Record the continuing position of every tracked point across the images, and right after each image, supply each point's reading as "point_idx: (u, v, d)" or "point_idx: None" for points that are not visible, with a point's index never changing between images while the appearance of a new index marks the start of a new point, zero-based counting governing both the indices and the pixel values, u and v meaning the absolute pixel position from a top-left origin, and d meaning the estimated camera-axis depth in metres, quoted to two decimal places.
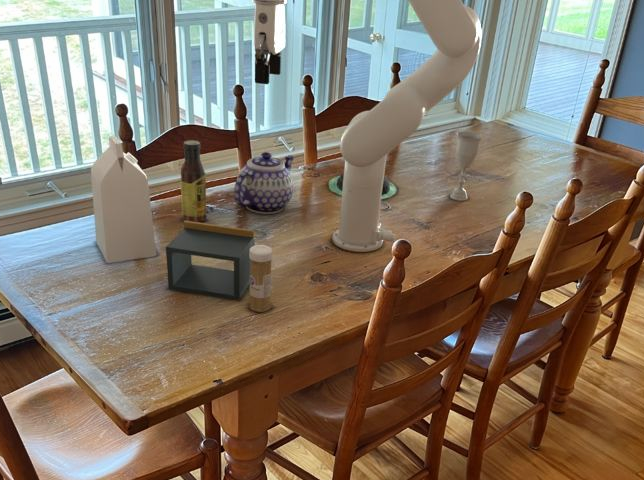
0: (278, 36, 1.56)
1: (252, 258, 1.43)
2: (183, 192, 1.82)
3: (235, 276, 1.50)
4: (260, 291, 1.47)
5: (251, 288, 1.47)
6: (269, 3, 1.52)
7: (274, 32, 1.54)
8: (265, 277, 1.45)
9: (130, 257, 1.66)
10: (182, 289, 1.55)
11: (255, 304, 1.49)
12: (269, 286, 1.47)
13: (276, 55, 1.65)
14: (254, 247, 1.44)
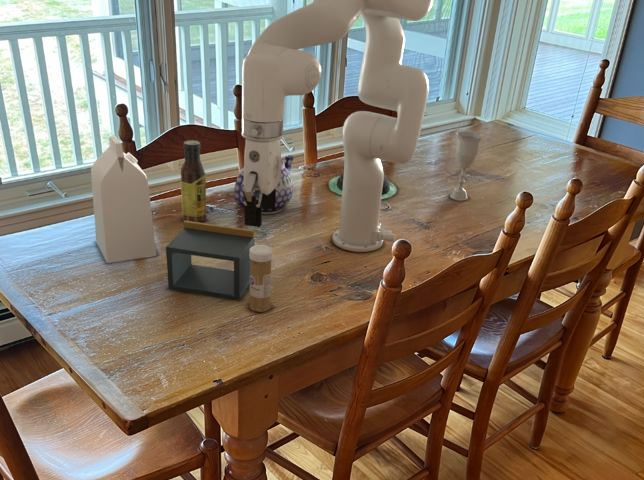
0: (272, 174, 1.33)
1: (252, 258, 1.43)
2: (183, 192, 1.82)
3: (235, 276, 1.50)
4: (260, 291, 1.47)
5: (251, 288, 1.47)
6: (262, 139, 1.29)
7: (267, 172, 1.31)
8: (265, 277, 1.45)
9: (130, 257, 1.66)
10: (182, 289, 1.55)
11: (255, 304, 1.49)
12: (269, 286, 1.47)
13: None
14: (254, 247, 1.44)
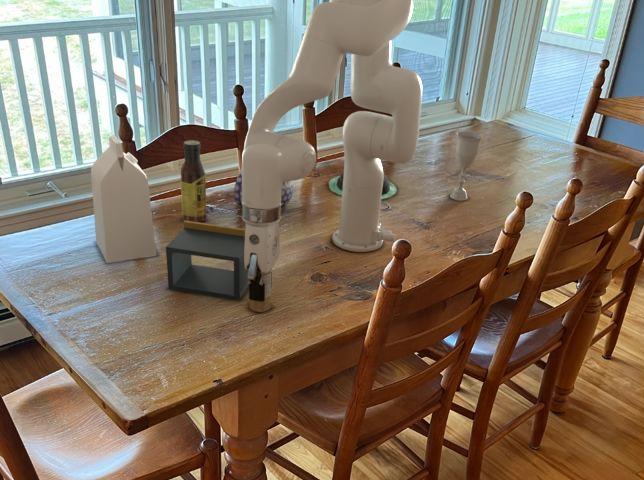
0: (271, 253, 1.41)
1: None
2: (183, 192, 1.82)
3: (235, 276, 1.50)
4: None
5: None
6: (261, 224, 1.37)
7: (267, 253, 1.39)
8: (265, 277, 1.45)
9: (130, 257, 1.66)
10: (182, 289, 1.55)
11: (255, 304, 1.49)
12: (269, 286, 1.47)
13: None
14: None
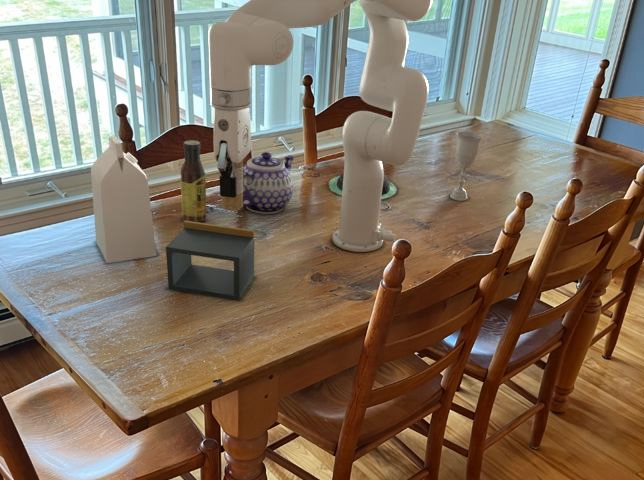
0: (242, 143, 1.35)
1: None
2: (183, 192, 1.82)
3: (235, 276, 1.50)
4: None
5: None
6: (230, 108, 1.30)
7: (237, 140, 1.32)
8: (237, 171, 1.39)
9: (130, 257, 1.66)
10: (182, 289, 1.55)
11: (227, 201, 1.42)
12: (241, 181, 1.41)
13: None
14: None
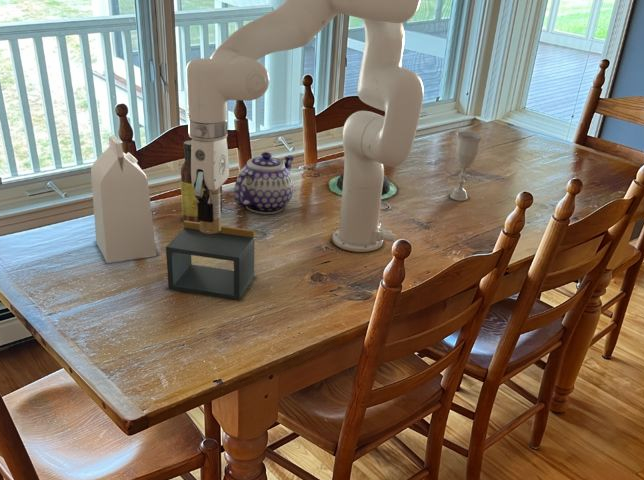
0: (218, 171, 1.42)
1: None
2: (183, 192, 1.82)
3: (235, 276, 1.50)
4: None
5: None
6: (206, 139, 1.38)
7: (213, 169, 1.40)
8: (214, 197, 1.46)
9: (130, 257, 1.66)
10: (182, 289, 1.55)
11: (205, 225, 1.49)
12: (218, 207, 1.48)
13: None
14: None
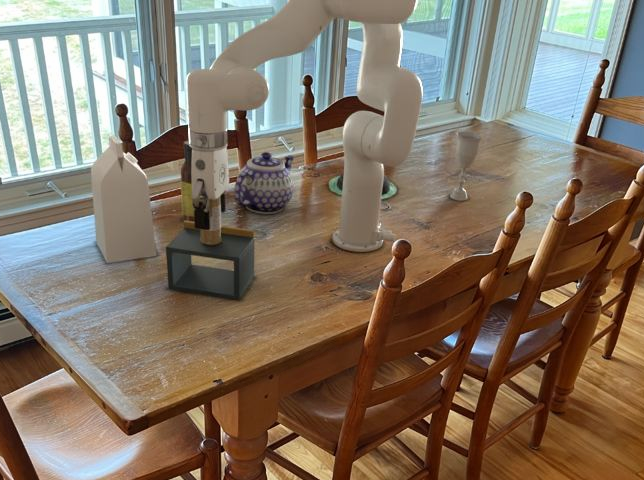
0: (218, 181, 1.43)
1: None
2: (183, 192, 1.82)
3: (235, 276, 1.50)
4: (210, 223, 1.49)
5: None
6: (207, 149, 1.39)
7: (213, 179, 1.41)
8: (214, 209, 1.48)
9: (130, 257, 1.66)
10: (182, 289, 1.55)
11: (205, 237, 1.51)
12: (219, 219, 1.50)
13: None
14: None
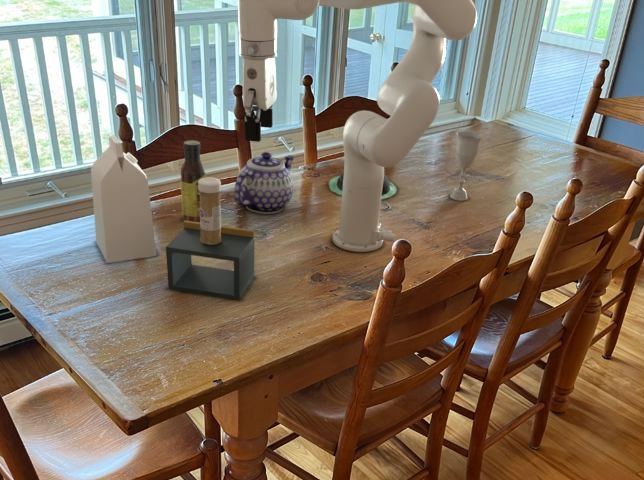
0: (269, 91, 1.46)
1: (201, 189, 1.45)
2: (183, 192, 1.82)
3: (235, 276, 1.50)
4: (210, 223, 1.49)
5: (201, 221, 1.50)
6: (258, 58, 1.41)
7: (264, 88, 1.43)
8: (214, 209, 1.48)
9: (130, 257, 1.66)
10: (182, 289, 1.55)
11: (205, 237, 1.51)
12: (219, 219, 1.50)
13: (267, 108, 1.55)
14: (203, 179, 1.46)
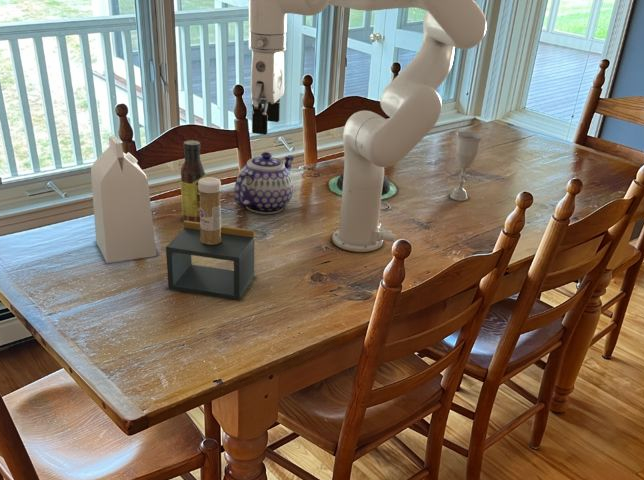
0: (277, 84, 1.47)
1: (201, 189, 1.45)
2: (183, 192, 1.82)
3: (235, 276, 1.50)
4: (210, 223, 1.49)
5: (201, 221, 1.50)
6: (267, 51, 1.43)
7: (272, 81, 1.45)
8: (214, 209, 1.48)
9: (130, 257, 1.66)
10: (182, 289, 1.55)
11: (205, 237, 1.51)
12: (219, 219, 1.50)
13: (275, 102, 1.56)
14: (203, 179, 1.46)
